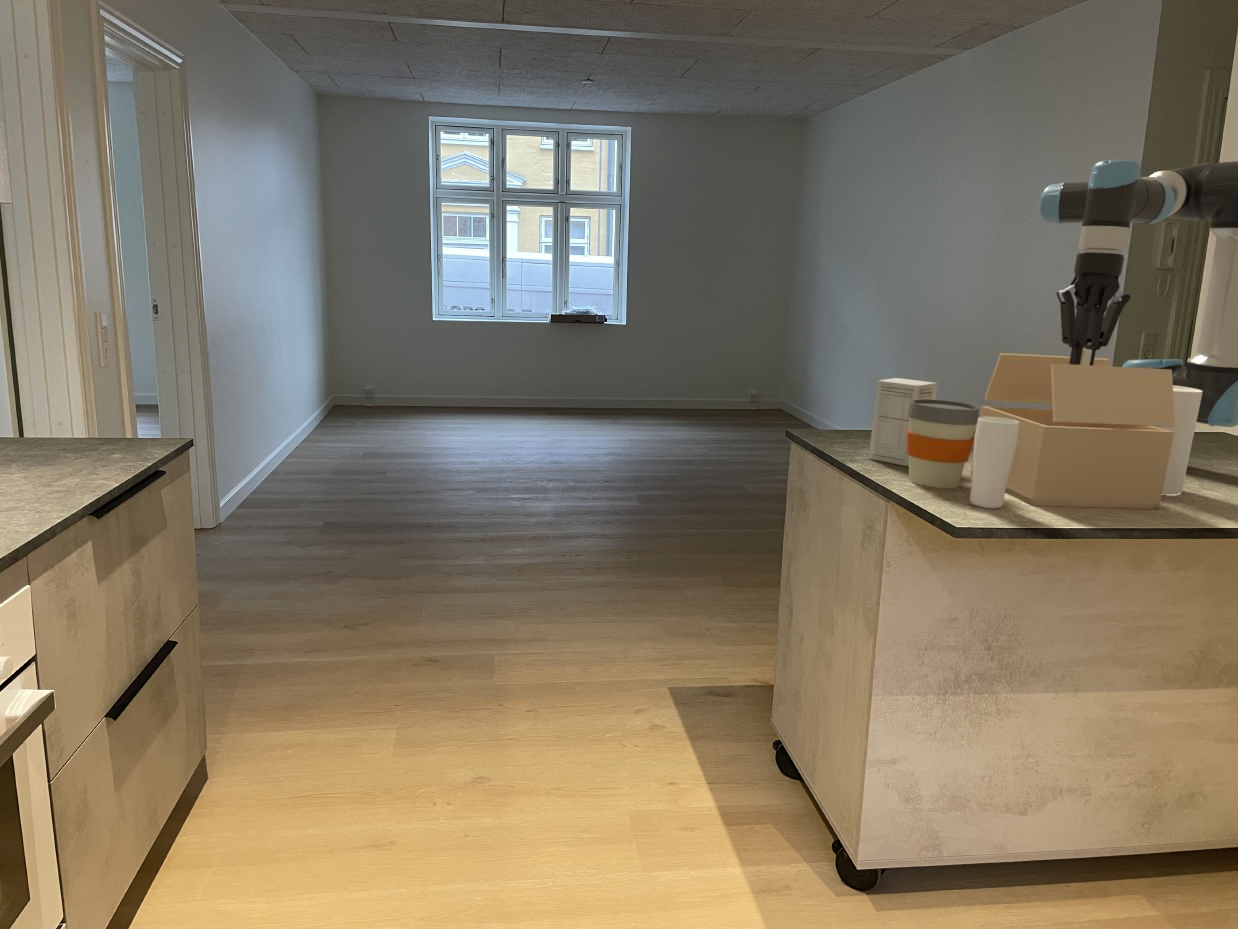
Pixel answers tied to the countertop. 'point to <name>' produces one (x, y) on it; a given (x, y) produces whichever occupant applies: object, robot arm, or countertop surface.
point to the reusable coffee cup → (939, 441)
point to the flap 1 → (1026, 377)
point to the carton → (1085, 461)
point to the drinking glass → (992, 460)
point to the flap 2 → (1112, 395)
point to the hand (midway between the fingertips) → (1077, 384)
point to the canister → (1181, 436)
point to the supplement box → (895, 417)
